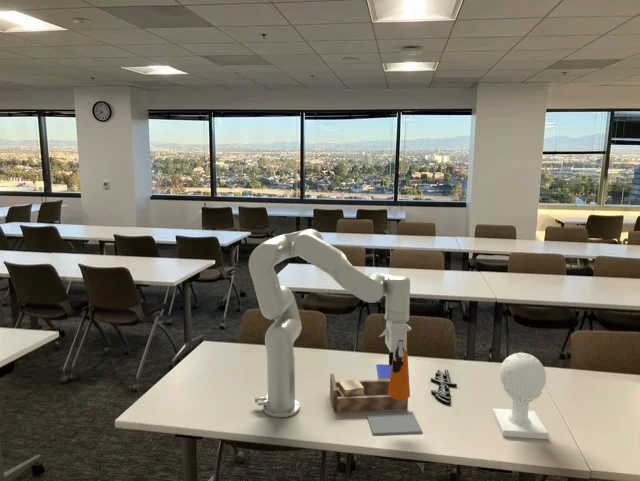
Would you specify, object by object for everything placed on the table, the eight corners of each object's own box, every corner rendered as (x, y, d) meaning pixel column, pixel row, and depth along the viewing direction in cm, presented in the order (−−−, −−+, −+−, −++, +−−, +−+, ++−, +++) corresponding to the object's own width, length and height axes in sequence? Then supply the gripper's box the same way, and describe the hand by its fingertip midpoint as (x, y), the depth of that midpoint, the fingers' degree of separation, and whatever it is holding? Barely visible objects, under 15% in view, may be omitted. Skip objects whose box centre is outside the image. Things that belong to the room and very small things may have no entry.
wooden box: (333, 412, 163) (333, 390, 162) (330, 393, 176) (330, 373, 174) (407, 409, 165) (408, 388, 164) (398, 391, 178) (399, 371, 176)
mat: (372, 434, 149) (372, 433, 149) (366, 414, 161) (366, 413, 161) (422, 432, 151) (422, 431, 151) (412, 413, 162) (412, 411, 162)
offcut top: (345, 397, 165) (345, 390, 164) (338, 388, 171) (338, 381, 171) (363, 394, 167) (363, 387, 166) (356, 385, 173) (356, 379, 173)
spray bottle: (381, 386, 160) (383, 311, 156) (412, 392, 155) (415, 315, 152) (374, 395, 154) (376, 317, 150) (406, 402, 149) (409, 322, 145)
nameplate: (461, 403, 167) (432, 400, 169) (461, 407, 167) (432, 404, 169) (453, 370, 194) (428, 368, 196) (453, 373, 194) (428, 371, 196)
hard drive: (399, 377, 187) (395, 364, 199) (378, 377, 187) (376, 364, 200) (399, 381, 187) (395, 368, 200) (378, 380, 188) (376, 367, 200)
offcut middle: (342, 403, 165) (342, 397, 164) (336, 394, 172) (336, 387, 171) (364, 400, 167) (364, 394, 167) (357, 391, 174) (357, 384, 173)
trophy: (501, 436, 149) (508, 362, 145) (491, 413, 163) (496, 345, 159) (548, 440, 148) (556, 365, 143) (533, 416, 161) (540, 347, 157)
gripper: (380, 306, 158) (378, 358, 161) (391, 323, 141) (389, 380, 144) (402, 306, 158) (400, 357, 161) (416, 323, 142) (414, 379, 145)
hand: (395, 367), depth 153 cm, fingers closed on spray bottle, 4 cm apart
